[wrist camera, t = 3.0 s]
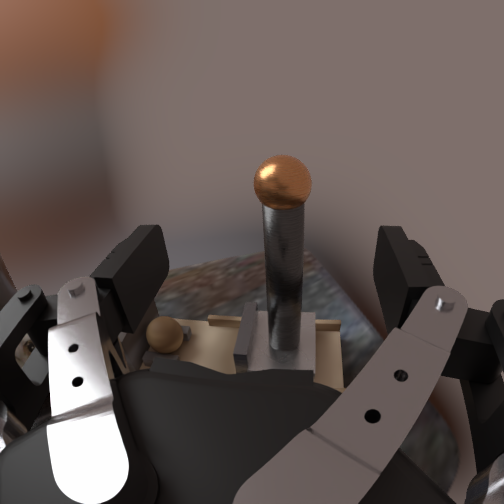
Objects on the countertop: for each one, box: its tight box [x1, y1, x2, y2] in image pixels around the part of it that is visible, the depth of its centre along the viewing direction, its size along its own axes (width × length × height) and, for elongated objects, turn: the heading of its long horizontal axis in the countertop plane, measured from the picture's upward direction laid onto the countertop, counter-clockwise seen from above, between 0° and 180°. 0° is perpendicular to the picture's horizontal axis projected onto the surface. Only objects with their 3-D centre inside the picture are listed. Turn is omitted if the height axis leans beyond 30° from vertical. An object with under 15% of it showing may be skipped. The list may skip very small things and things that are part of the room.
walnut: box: [146, 316, 183, 354], centre depth 32 cm, size 4×4×4 cm
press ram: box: [233, 155, 316, 382], centre depth 26 cm, size 7×8×20 cm
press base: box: [118, 299, 346, 393], centre depth 31 cm, size 24×10×7 cm, turn 82°
